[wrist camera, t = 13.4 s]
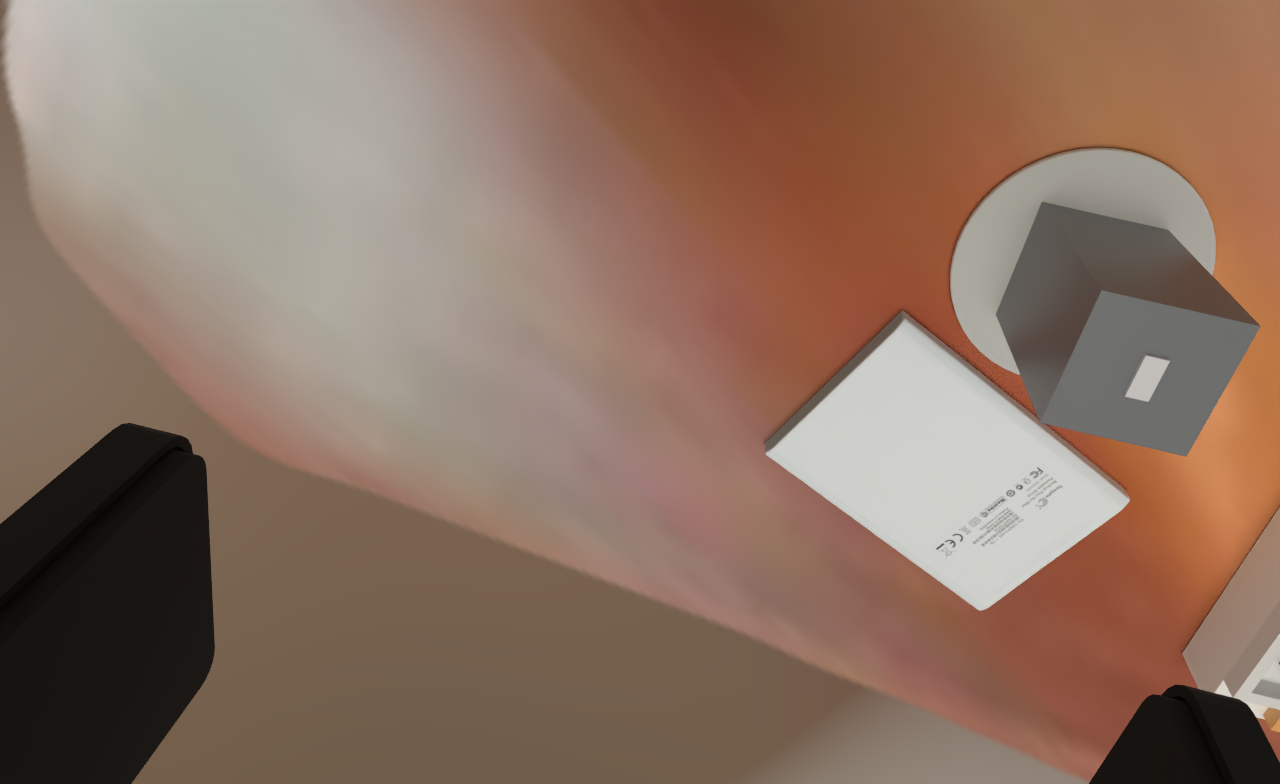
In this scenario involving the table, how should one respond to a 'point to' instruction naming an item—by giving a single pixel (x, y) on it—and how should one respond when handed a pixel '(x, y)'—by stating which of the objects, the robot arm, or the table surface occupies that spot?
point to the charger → (1120, 329)
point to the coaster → (1074, 182)
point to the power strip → (1245, 633)
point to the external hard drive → (944, 465)
